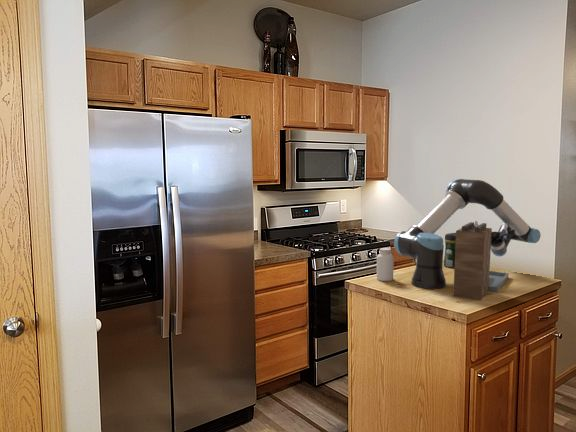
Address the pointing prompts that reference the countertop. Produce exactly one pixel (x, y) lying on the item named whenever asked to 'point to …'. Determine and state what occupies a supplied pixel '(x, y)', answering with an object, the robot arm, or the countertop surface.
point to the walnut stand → (472, 261)
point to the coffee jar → (450, 250)
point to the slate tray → (496, 280)
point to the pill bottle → (385, 265)
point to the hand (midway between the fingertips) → (490, 224)
